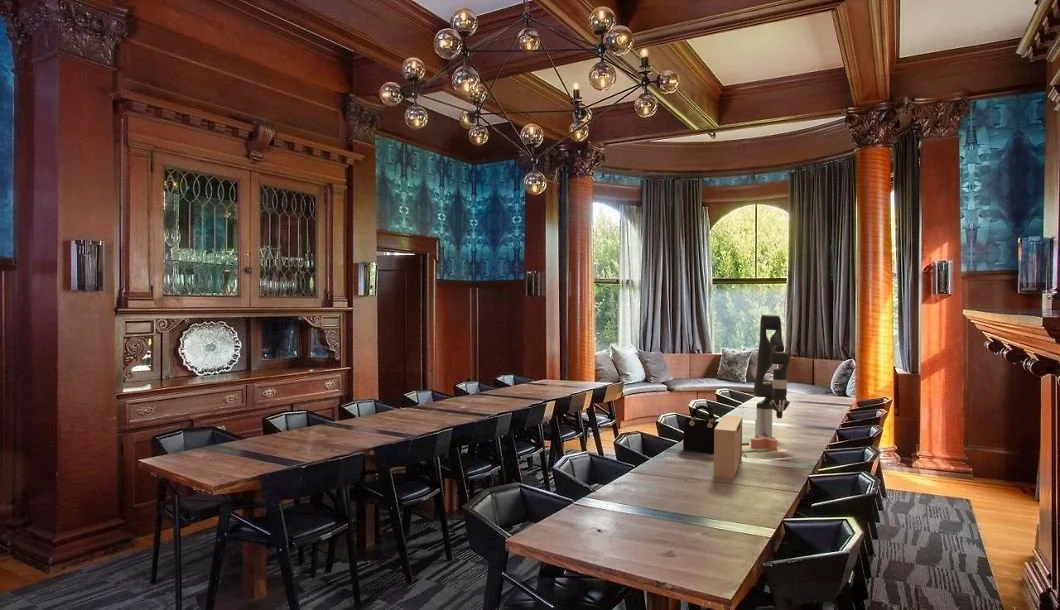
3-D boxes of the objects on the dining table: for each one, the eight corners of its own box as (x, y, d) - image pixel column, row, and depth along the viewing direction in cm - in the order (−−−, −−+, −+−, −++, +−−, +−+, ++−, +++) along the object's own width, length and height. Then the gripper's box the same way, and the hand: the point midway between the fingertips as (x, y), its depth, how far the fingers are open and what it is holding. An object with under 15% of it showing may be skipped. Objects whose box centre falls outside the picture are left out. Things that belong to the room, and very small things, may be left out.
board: (718, 446, 361) (718, 442, 361) (759, 443, 370) (759, 439, 370) (746, 456, 338) (746, 452, 338) (788, 453, 347) (788, 449, 347)
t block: (746, 445, 359) (746, 436, 359) (762, 444, 362) (762, 435, 362) (760, 450, 347) (760, 441, 347) (777, 449, 351) (777, 440, 351)
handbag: (723, 452, 348) (723, 406, 348) (718, 455, 341) (719, 408, 340) (686, 447, 359) (687, 402, 359) (681, 450, 352) (681, 405, 352)
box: (743, 460, 332) (743, 416, 332) (736, 479, 295) (736, 430, 295) (723, 457, 336) (723, 415, 335) (713, 476, 299) (714, 429, 299)
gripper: (784, 386, 364) (784, 416, 364) (765, 386, 360) (765, 417, 360) (794, 387, 357) (793, 418, 357) (774, 388, 353) (774, 419, 353)
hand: (779, 418), depth 359 cm, fingers closed
